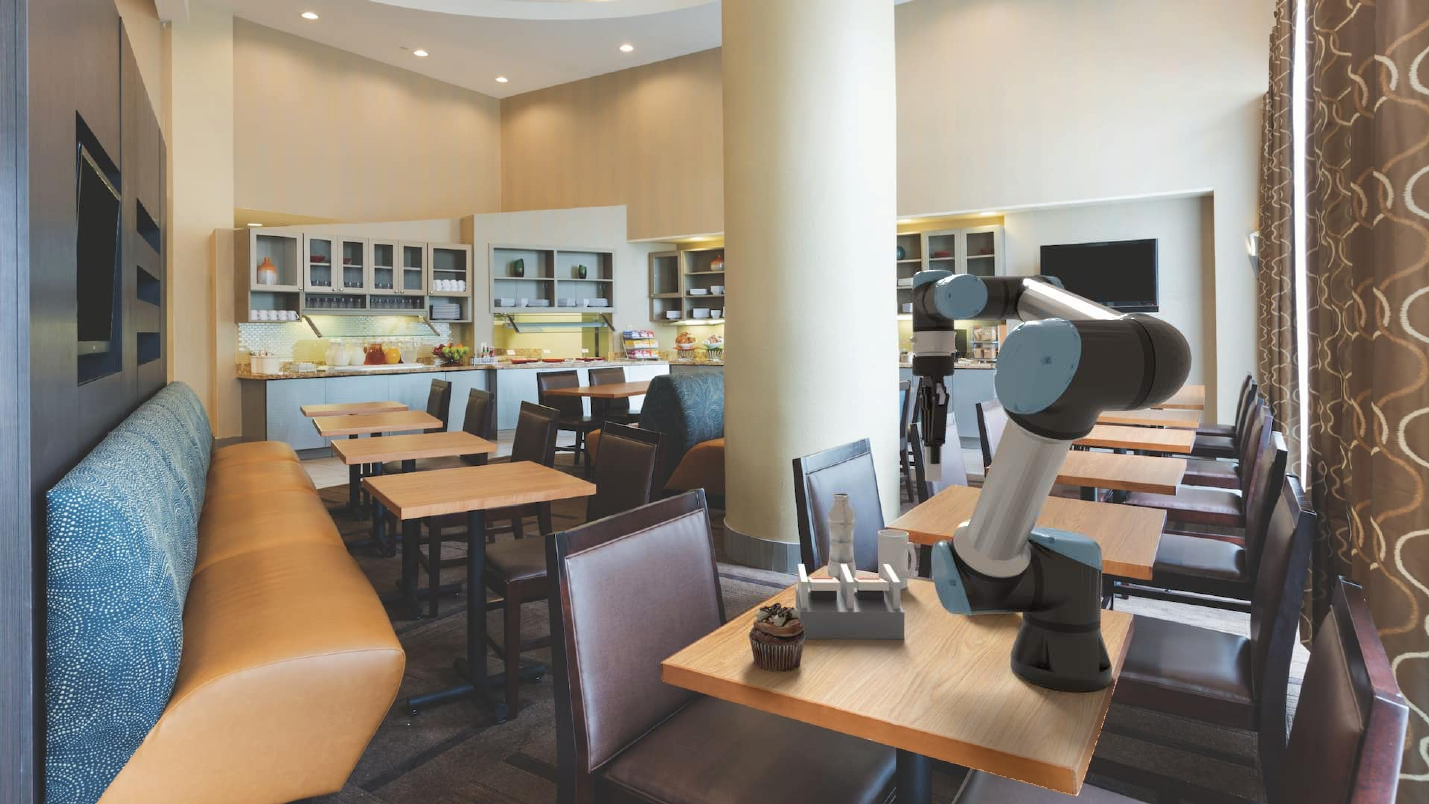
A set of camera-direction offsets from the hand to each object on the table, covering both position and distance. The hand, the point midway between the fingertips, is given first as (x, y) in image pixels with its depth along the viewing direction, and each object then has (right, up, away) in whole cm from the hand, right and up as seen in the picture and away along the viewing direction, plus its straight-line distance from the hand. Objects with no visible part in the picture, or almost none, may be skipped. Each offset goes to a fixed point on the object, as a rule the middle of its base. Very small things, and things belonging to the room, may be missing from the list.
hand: (933, 480), depth 145 cm
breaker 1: (-20, -21, +5) cm, 30 cm away
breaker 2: (-11, -21, +4) cm, 24 cm away
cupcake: (-30, -30, -13) cm, 45 cm away
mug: (0, -27, +27) cm, 38 cm away
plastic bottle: (-12, -27, +33) cm, 44 cm away
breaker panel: (-15, -28, +5) cm, 32 cm away
